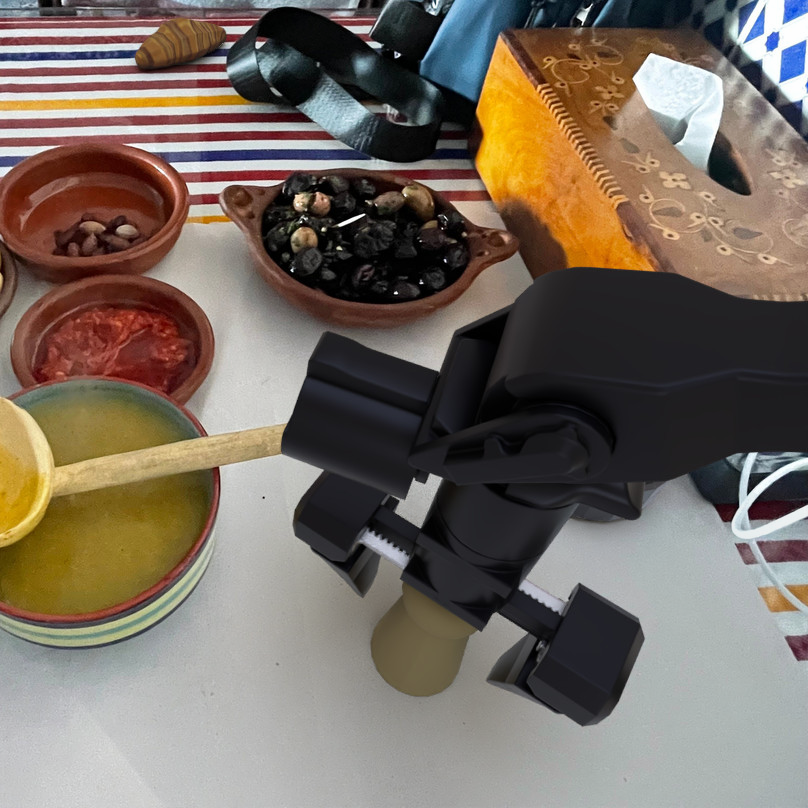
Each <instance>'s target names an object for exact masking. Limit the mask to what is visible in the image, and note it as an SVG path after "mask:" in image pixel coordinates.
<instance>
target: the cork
mask: <svg viewBox="0 0 808 808" xmlns="http://www.w3.org/2000/svg"><path fill="white" fill-rule="evenodd" d="M401 592H402V594H401V595H400V596H399V598H398V599H397V600H396V601H395V602H394V604H393V605H391V607H390V608H389V609H388V610H387V611H386V613H385V614H384V615H383V616H382V618H381V619H380V620H379V621H378V623H377V625H376V626H375V628H374V629H373V632H372V635H371V638H370V639H371V640H370V652H371V659H372V661H373V664H374V666H375V669H376V671H377V672H378V673H379V675H380V676H381V677H382V678H383V680H384V681H385V682H386V683H387V684H388V685H390V686H391V687H393V688H394V689H395V690H396V691H398V692H400V693H403V694H405V695H409V696H411V697H424V698H425V697H426V698H427V697H431V696H434V695H438V694H440V693H442V692H443V691H445V690H446V689H447V688H448V687H450V686H451V685H452V684H453V682H454V681H455V679H456V677H457V675H458V674H459V671H460V669H461V665H462V661H463V658H464V655H465V651H466V649H467V645H468V642H469V639H470V636H472V635H474V634H475V633H477V632H478V631H479V630H477V629H476V628H474V627H473V626H471V625H470V624H468V623H466V622H465V621H463V620H462V619H460V618H459V617H457V616H456V615H454V614H453V613H451V612H450V611H448V610H447V609H445V608H443V607H442V606H440V605H439V604H437V603H436V602H434V601H433V600H431V599H430V598H428V597H427V596H425V595H423V594H422V593H420V592H419V591H417V590H416V589H414V588H413V587H411V586H410V585H408V584H407V583H405V582H403V581H402V584H401Z"/></svg>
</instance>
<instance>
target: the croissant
mask: <svg viewBox="0 0 808 808" xmlns="http://www.w3.org/2000/svg"><path fill="white" fill-rule="evenodd" d="M227 37H228V35H227V31H226V30H225V28H224V27H222V26H220V25H218V24H216V23H215V24H214V23H210V22H205V21H198V20H194V19H190V18H185V17H176V18H175V17H174V18H171V19H169V20H167V21H165V22H163V23H162V24H160V26H159V27H158V28H157V30H156V31H154V32H153V33H152V34H150V36H148V38H146V40H144V41H143V43H141V45H140V46H139V48H138V49H137V51H136V52H135V55H134V61H135V65H136V66H137V67H138V68H139V69H143V70H153V69H162V68H168V67H172V66H176V65H182V64H186V63H191V62H192V63H193V62H194V61H196V60H198V59H201V58H203V57H204V56H206V55H208V54H210V52H211V53H213V52H215V51H216V50H217V49H219V48H220V47H221V46H222V45H223V44H224V43H226V41H227ZM222 43H223V44H222ZM221 44H222V45H221ZM220 45H221V46H220ZM219 46H220V47H219ZM218 47H219V48H218ZM216 48H217V49H216ZM215 49H216V50H215ZM212 51H213V52H212ZM207 53H208V54H207Z"/></svg>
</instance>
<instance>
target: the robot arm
mask: <svg viewBox="0 0 808 808" xmlns="http://www.w3.org/2000/svg"><path fill="white" fill-rule="evenodd" d="M282 431H283V432H282V434H281V440H280V453H281V455H283V456H286V457H288V458H291V459H293V460H296V461H299V462H302V463H304V464H307V465H309V466H313V467H315V468H317V469H320V470H323V471H321V473H320V474H319V475H318V477H317V478H316V479H315V480H314V481H313V483H312V484H311V485H310V486H309V488H307V490H306V491H305V493H304V494H303V495H302V496H301V498H300V499H299V501H298V503H297V504H296V506H295V508H294V511H293V519H292V522H291V523H292V529H293V534H294V537H296V538H297V539H298V540H300V541H302V543H305V544H306V545H308V546H309V549H310V550H311V552H312V553H313V554H314V555H316V556H317V557H319V558H320V559H322V560H323V562H325V563H326V564H327V565H328V566H329V567H330V568H331V569H332V570H333V571H334V572H335V573H336V574H337V575H338V576H339V577H340V578H341V579H342V580H343V581H344V582H345V583H346V584H347V585H348V586H349V588H351V589H352V590H353V592H354V593H355V594H356V595H357V596H359V597H360V598H361V599H364V598H365V597H366V596H367V594H368V592H369V591H370V589H371V588H372V586H373V584H374V582H375V579H376V577H377V575H378V571H379V566H380V563H381V562H380V561H381V557H382V558H384V559H385V560H386V561H388V562H390V563H391V564H393V565H394V566H395V567H397V568H399V569H400V570H402V572H401V574H400V577H399V580H400V581H402V583H403V582H405V583H407V584H408V585H410V586H411V587H413V588H414V589H416V590H417V591H419V592H420V593H422V594H423V595H425V596H427V597H428V598H430V599H431V600H433V601H434V602H436V603H437V604H439V605H440V606H442V607H443V608H445V609H447V610H448V611H450V612H451V613H453V614H454V615H456V616H457V617H459V618H460V619H462V620H463V621H465V622H466V623H468V624H470V625H471V626H473V627H474V628H476V629H477V630H478V631H479V632H480V633H483V631H484V629H485V628H486V627H487V625H488V623H489V621H490V620H491V618H492V617H493V616H494V614H498V615H499V616H501V617H502V618H504V619H506V621H509V622H510V623H512V624H514V625H515V626H517V627H518V628H520V629H521V630H523V631H524V632H526V634H525V635H524V636H522V637H521V638H520V639H519V640H518V641H516V642H515V643H514V644H513V645H512V646H511V647H509V649H507V650H506V651H505V652H504V653H503V654H501V656H499V658H498V659H497V661H496V662H495V663H494V665H493V666H492V667H491V669H490V671H489V673H488V675H487V676H486V679H485V682H486V683H488V684H490V685H491V686H494V687H497V688H499V689H502V690H504V691H507V692H510V693H512V694H513V695H517V696H519V697H522V698H524V699H526V700H528V701H530V702H533V703H535V704H538V705H540V706H542V707H544V708H546V709H547V710H549V711H550V712H552V713H554V714H555V715H564V716H565V717H567V718H568V719H570V720H571V721H573V722H574V723H575V724H578V725H579V726H580V727H581V728H583V727H590V726H596V725H598V724H600V723H601V722H602V721H604V720H605V719H607V718H608V717H609V716H611V714H612V713H613V711H614V710H615V709H616V707H617V705H618V703H619V702H620V700H621V697H622V695H623V693H624V690H625V688H626V685H627V683H628V680H629V679H630V677H631V674H632V672H633V669H634V666H635V664H636V662H637V659H638V657H639V654H640V652H641V650H642V647H643V645H644V642H645V639H646V638H645V637H646V636H645V633H644V630H643V627H642V625H641V621H640V617H637V616H636V615H634V614H633V613H631V612H630V611H628V610H626V609H624V608H623V607H621V606H619V605H618V604H616V603H614V602H613V601H611V600H609V599H608V598H606V597H604V596H602V595H601V594H600V593H597V592H596V591H594V590H593V589H591V588H589V587H588V586H586V585H584V584H583V583H581V582H578V583H577V584H576V585H575V586H574V587H573V588H572V590H571V591H570V593H569V595H568V597H567V601H565V600H563V599H561V598H560V597H557V596H555V595H554V594H552V593H550V592H549V591H547V590H545V589H544V588H542V587H540V586H538V584H536V583H534V582H532V581H531V580H529V579H527V577H528V576H529V575H530V573H531V572H532V570H533V569H534V567H535V566H536V565H537V563H538V562H539V561H540V559H541V557H542V556H544V554H545V552H546V551H547V550H548V548H549V547H550V546H551V544H552V543H553V541H554V540H555V539H556V537H557V536H558V535H559V533H560V531H561V530H562V529H563V528H564V527H565V525H566V523H567V522H568V521H569V519H570V518H571V517H572V516H571V515H572V514H573V512H574V511H575V510H576V508H577V507H578V506H579V504H584V505H587V506H590V507H593V508H596V509H599V510H601V511H604V512H607V513H610V514H613V515H615V516H618V517H621V518H622V519H623V520H628V521H637V520H639V519H640V518H641V516H642V513H643V509H642V505H643V497H644V489H645V482H663V481H669V480H670V481H673V480H675V479H678V478H681V477H683V476H685V475H687V474H690V473H693V472H695V471H697V470H700V469H702V468H705V467H707V466H709V465H712V464H714V463H716V462H719V461H722V460H724V459H727V458H729V457H732V456H734V455H737V454H758V453H775V452H776V453H798V454H808V300H790V301H789V300H787V301H783V300H782V301H781V300H769V299H757V298H755V299H754V298H745V297H739V296H735V295H733V294H731V293H728V292H725V291H723V290H720V289H718V288H716V287H712V286H710V285H708V284H706V283H702V282H700V281H697V280H695V279H693V278H691V277H687V276H685V275H683V274H680V273H676V272H670V271H669V272H668V271H658V270H657V271H656V270H644V269H643V270H641V269H627V268H615V267H614V268H613V267H599V266H597V267H596V266H572V267H567V268H562V269H556V270H551V271H549V272H546V273H544V274H542V275H538V276H537V277H535V278H534V279H533V283H531V284H530V285H529V286H528V287H527V288H525V290H524V291H522V292H521V293H520V294H519V295H518V296H517V297H516V298H515V300H514V302H513V303H511V304H508V305H505V306H504V307H502V308H499V309H498V310H496V311H493V312H491V313H489V314H487V315H485V316H483V317H480V318H478V319H476V320H473V321H472V322H470V323H467V324H465V325H463V326H461V327H459V328H457V329H455V330H454V331H453V334H452V335H451V339H450V342H449V344H448V347H447V350H446V353H445V355H444V358H443V360H442V364H441V366H440V369H439V370H435V369H433V368H430V367H427V366H425V365H421V364H418V363H415V362H412V361H409V360H406V359H403V358H400V357H397V356H394V355H392V354H388V353H385V352H382V351H379V350H376V349H374V348H371V347H369V346H366V345H364V344H362V343H360V342H359V341H358V340H357V341H356V340H355V339H353V338H350V337H348V336H345V335H341V334H339V333H337V332H333V331H331V330H325V331H323V332H322V334H321V336H320V337H319V339H318V341H317V343H316V345H315V347H314V349H313V351H312V353H311V355H310V357H309V359H308V361H307V367H306V373H305V376H304V379H303V382H302V385H301V387H300V389H299V392H298V395H297V398H296V401H295V404H294V407H293V410H292V413H291V416H290V417H289V419H288V421H287V423H286V425H285V426H284V429H283V430H282ZM430 474H431V475H433V476H435V477H439V478H441V480H440V482H439V485H438V487H437V489H436V492H435V494H434V496H433V498H432V501H431V503H430V506H429V508H428V510H427V513H426V515H425V517H424V518H423V522H422V525H421V527H419V526H417V525H416V524H414V523H412V522H411V521H409V520H408V519H406V518H405V517H403V516H402V515H399V514H398V513H396V511H397V509H398V506H399V504H400V502H401V501H400V500H403V501H406V500H407V497H408V494H409V491H410V489H411V486H412V484H413V481H415V482H418V483H420V484H422V485H426V484H427V482H428V480H429V477H430ZM670 481H669V482H670ZM399 499H400V500H399Z"/></svg>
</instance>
